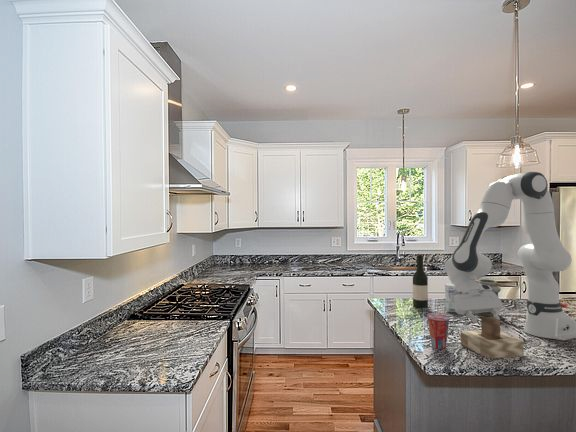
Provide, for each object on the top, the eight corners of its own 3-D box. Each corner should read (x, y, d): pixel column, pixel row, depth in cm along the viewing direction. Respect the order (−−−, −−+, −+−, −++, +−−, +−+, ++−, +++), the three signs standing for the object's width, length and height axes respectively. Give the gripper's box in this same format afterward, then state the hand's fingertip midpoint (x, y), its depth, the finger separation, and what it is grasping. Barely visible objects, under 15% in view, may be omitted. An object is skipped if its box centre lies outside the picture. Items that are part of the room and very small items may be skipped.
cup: (453, 346, 141) (452, 316, 141) (446, 352, 135) (445, 321, 135) (429, 341, 147) (429, 312, 147) (421, 346, 141) (421, 316, 141)
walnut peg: (491, 346, 140) (491, 316, 140) (500, 351, 136) (500, 319, 136) (481, 347, 139) (481, 317, 139) (490, 352, 135) (489, 320, 135)
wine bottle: (423, 308, 198) (422, 255, 198) (409, 305, 204) (409, 253, 204) (431, 306, 203) (430, 253, 203) (417, 303, 209) (417, 252, 209)
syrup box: (448, 311, 191) (447, 285, 191) (445, 309, 197) (444, 282, 197) (459, 312, 190) (459, 285, 190) (456, 309, 196) (455, 283, 196)
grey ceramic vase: (477, 317, 180) (476, 282, 180) (472, 311, 191) (472, 278, 191) (504, 319, 176) (503, 283, 176) (497, 312, 188) (497, 279, 188)
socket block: (492, 341, 146) (492, 329, 146) (523, 355, 131) (523, 341, 131) (460, 344, 143) (460, 331, 143) (488, 358, 128) (488, 344, 128)
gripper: (450, 288, 144) (468, 319, 135) (493, 285, 149) (513, 315, 139) (444, 297, 149) (460, 327, 139) (486, 294, 153) (504, 323, 143)
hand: (487, 321), depth 139 cm, fingers open, 8 cm apart
